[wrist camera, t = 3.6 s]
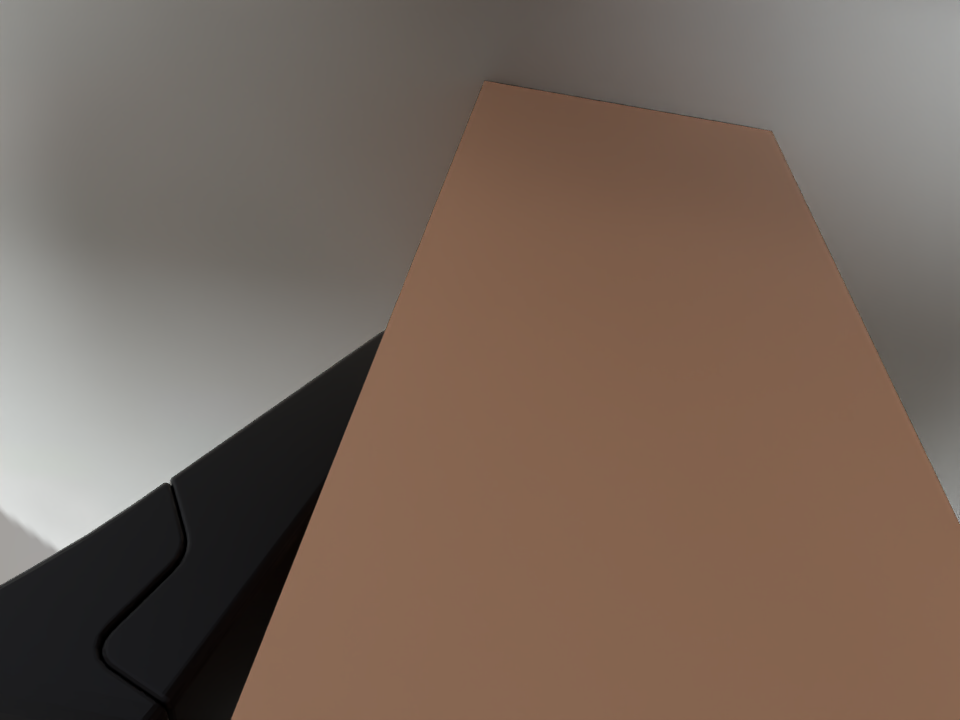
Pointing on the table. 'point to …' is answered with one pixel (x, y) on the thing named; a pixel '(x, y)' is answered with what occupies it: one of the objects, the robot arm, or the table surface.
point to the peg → (620, 456)
